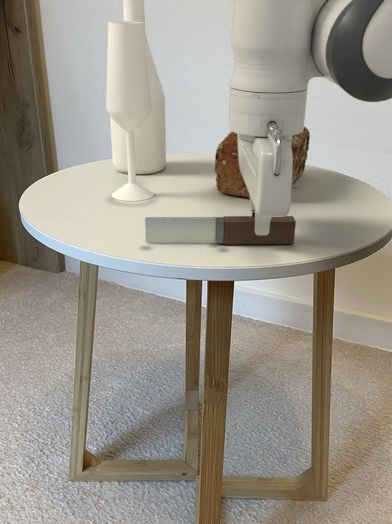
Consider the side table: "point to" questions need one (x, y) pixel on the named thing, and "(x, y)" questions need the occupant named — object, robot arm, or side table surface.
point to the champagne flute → (128, 94)
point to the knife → (218, 230)
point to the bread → (229, 167)
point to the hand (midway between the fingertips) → (259, 228)
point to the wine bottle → (153, 128)
